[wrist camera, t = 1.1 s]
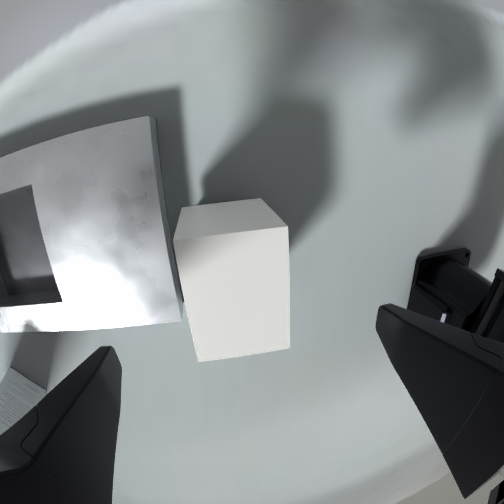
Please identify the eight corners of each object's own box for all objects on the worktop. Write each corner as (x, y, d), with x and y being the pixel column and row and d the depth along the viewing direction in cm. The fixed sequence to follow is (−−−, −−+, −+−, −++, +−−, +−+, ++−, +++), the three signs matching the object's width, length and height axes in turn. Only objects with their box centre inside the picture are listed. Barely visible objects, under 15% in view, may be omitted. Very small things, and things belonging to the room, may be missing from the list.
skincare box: (38, 416, 20) (11, 510, 9) (4, 395, 19) (-32, 484, 8) (48, 390, 19) (12, 500, 8) (9, 364, 18) (-40, 467, 7)
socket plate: (155, 118, 14) (149, 115, 12) (183, 302, 18) (182, 321, 16) (-45, 181, 12) (-62, 187, 10) (-4, 318, 16) (-16, 332, 14)
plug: (255, 192, 16) (288, 226, 10) (261, 281, 18) (290, 348, 12) (183, 201, 16) (172, 240, 10) (197, 290, 18) (198, 361, 12)
